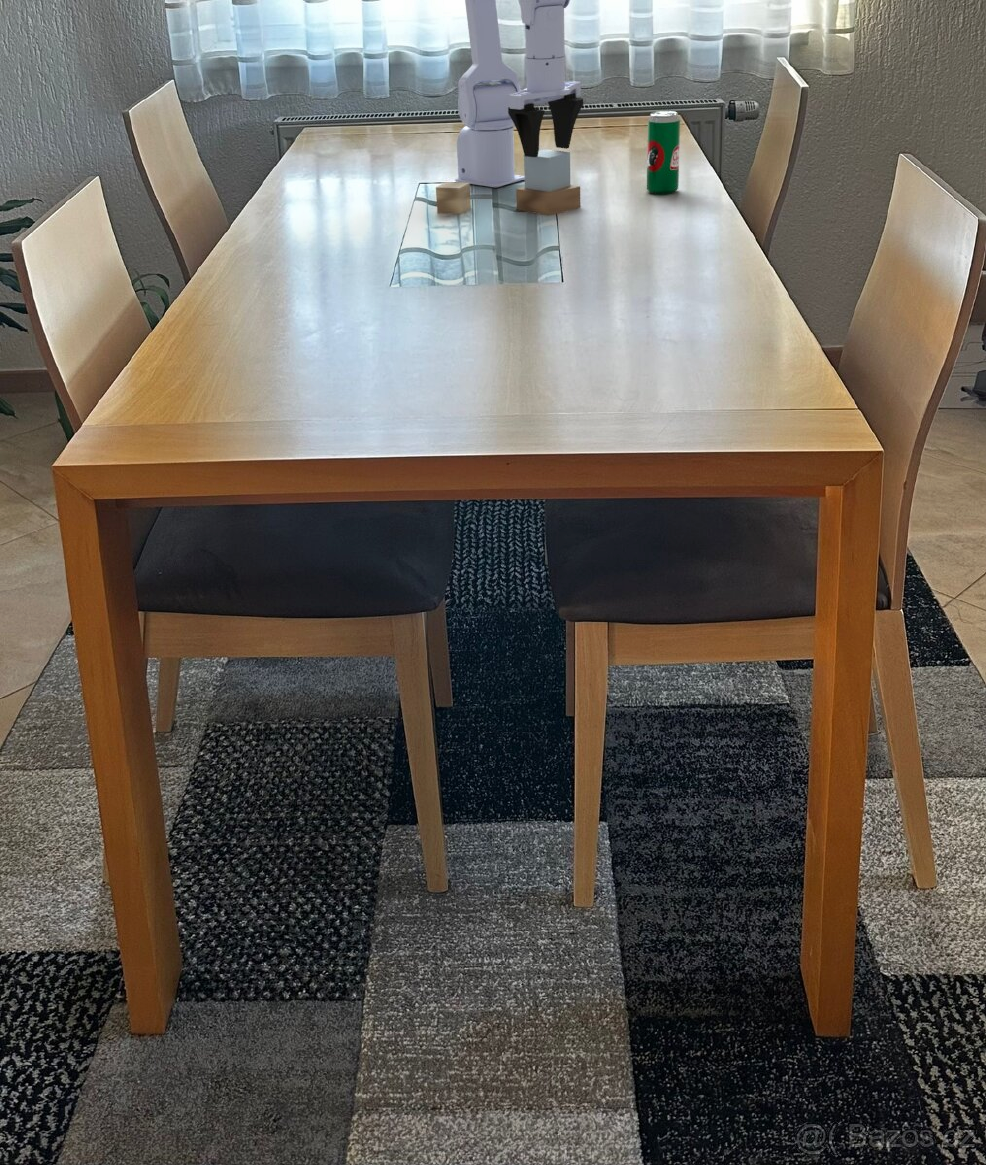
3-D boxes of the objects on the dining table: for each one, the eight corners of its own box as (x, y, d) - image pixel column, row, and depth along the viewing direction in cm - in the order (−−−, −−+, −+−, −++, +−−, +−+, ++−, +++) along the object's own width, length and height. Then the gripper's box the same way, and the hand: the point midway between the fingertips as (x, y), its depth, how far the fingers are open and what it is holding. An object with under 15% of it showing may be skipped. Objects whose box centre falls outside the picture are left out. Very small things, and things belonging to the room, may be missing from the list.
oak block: (437, 213, 201) (435, 187, 199) (447, 207, 204) (445, 181, 202) (461, 214, 199) (459, 188, 197) (470, 208, 202) (469, 182, 200)
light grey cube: (524, 188, 199) (523, 154, 197) (545, 182, 202) (544, 149, 200) (549, 191, 196) (549, 157, 194) (570, 185, 199) (570, 152, 197)
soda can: (677, 195, 204) (679, 115, 198) (645, 195, 205) (646, 116, 199) (679, 188, 208) (681, 110, 203) (648, 188, 209) (649, 110, 204)
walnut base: (516, 211, 201) (516, 188, 199) (548, 203, 205) (547, 180, 203) (549, 217, 196) (548, 194, 194) (580, 209, 200) (580, 186, 198)
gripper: (534, 64, 183) (537, 163, 189) (596, 51, 192) (596, 146, 199) (497, 61, 187) (500, 158, 194) (559, 49, 196) (560, 141, 203)
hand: (547, 151), depth 196 cm, fingers open, 7 cm apart
